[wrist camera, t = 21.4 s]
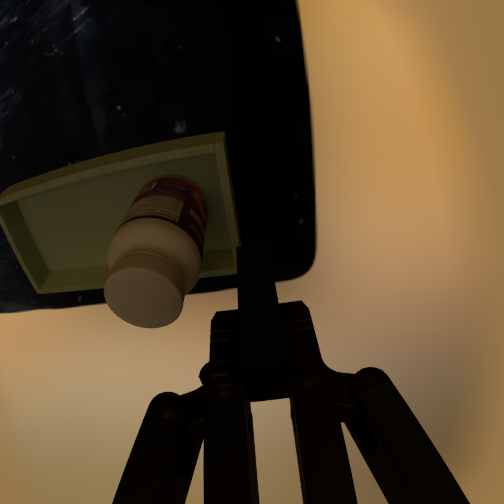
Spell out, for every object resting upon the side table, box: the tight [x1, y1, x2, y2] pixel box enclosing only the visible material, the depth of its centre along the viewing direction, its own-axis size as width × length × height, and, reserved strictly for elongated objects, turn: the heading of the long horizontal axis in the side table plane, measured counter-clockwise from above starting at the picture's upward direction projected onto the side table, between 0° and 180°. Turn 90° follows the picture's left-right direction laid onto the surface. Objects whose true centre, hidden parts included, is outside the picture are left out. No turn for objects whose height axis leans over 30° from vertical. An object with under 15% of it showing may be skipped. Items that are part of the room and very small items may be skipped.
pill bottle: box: [104, 175, 208, 328], centre depth 18 cm, size 5×5×10 cm
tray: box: [0, 131, 242, 294], centre depth 21 cm, size 19×10×3 cm, turn 96°
